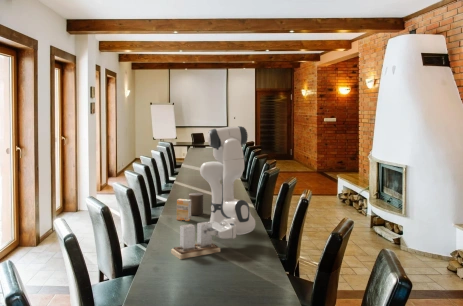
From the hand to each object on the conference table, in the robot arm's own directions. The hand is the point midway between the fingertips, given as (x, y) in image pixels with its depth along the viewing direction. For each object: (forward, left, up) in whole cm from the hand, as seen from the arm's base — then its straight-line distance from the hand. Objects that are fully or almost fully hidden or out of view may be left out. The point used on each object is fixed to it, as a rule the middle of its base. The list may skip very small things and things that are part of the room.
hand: (203, 231), depth 217 cm
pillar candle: (-33, -70, -10) cm, 78 cm away
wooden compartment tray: (+4, 0, -10) cm, 11 cm away
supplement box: (-19, -60, -10) cm, 64 cm away
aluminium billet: (-1, 0, -8) cm, 8 cm away
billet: (+9, 0, -8) cm, 12 cm away
